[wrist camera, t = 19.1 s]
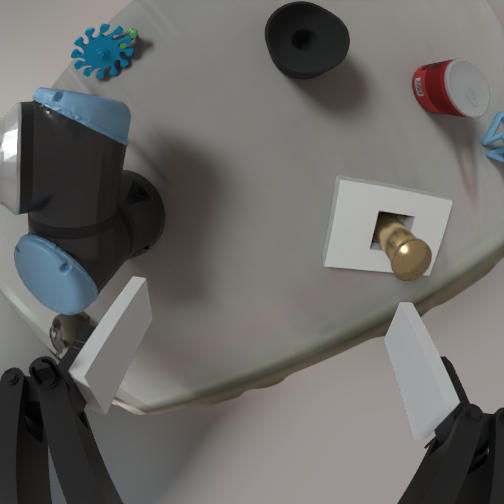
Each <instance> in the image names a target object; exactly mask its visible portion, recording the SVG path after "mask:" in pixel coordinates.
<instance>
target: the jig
mask: <svg viewBox="0 0 504 504" xmlns="http://www.w3.org/2000/svg"><path fill="white" fill-rule="evenodd" d="M452 203H453V201H452V200H450V199H449V198H447V197H446V196H444V195H440V194H436V193H431V192H427V191H422V190H418V189H413V188H408V187H403V186H398V185H393V184H388V183H382V182H377V181H371V180H365V179H359V178H353V177H346V176H339V175H336V181H335V187H334V193H333V200H332V206H331V211H330V217H329V223H328V228H327V234H326V239H325V244H324V249H323V254H322V259H323V263H324V266H326V267H337V268H348V269H358V270H369V271H380V272H391V273H394V272H393V271H392V268H391V261H390V259H389V258H388V256H387V255H386V253H385V252H384V250H383V249H382V247H381V246H380V244H379V243H375V242H371V241H372V237H373V233H374V229H375V225H376V221H377V216H378V212H379V211H384V212H391V213H397V214H403V215H406V219H405V223H404V225H405V226H406V227H407V228H408V229H409V230H410V232H411V233H412V234H413V235H414V236H415V237H416V238H419V239H422V240H423V241H425V242H426V244H427V245H428V246H429V247H430V249H431V252H432V260H431V263H430V266H429V268H428V269H427V271H426V272H425V273H424V274H423V275H425V276H429V275H430V273H431V270H432V267H433V264H434V262H435V259H436V256H437V253H438V250H439V247H440V244H441V241H442V238H443V235H444V231H445V228H446V225H447V221H448V218H449V214H450V210H451V207H452Z"/></svg>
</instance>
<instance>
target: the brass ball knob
mask: <svg viewBox="0 0 504 504" xmlns="http://www.w3.org/2000/svg"><path fill="white" fill-rule="evenodd" d="M373 236H374V237H375V239H376V240H377V242H378V243H379V244H380V246H381V247H382V249H383V250H384V252H385V253H386V255H387V256H388V258H389V259H390V261H391V268H392V271H393V272H394V274H395V275H396V277H397V278H399V279H400V280H403V281H412V280H415V279H417V278H419V277H420V276H422V275H423V274H424V273H425V272H426V271H427V269H428V268H429V266H430V263H431V260H432V252H431V249H430V247H429V246H428V245H427V244H426V242H425V241H423V240H422V239H419V238H416V237H415V236H414V235H413V234H412V233H411V232H410V230H409V229H408V228H407V227H406V226H405V225H404V224H403V223H402V222H401V221H400V220H399V219H398V218H397V217H396V216H395V215H394V214H393V213H391V212H384V211H382V212H379V213H378V216H377V221H376V225H375V229H374V233H373Z"/></svg>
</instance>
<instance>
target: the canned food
mask: <svg viewBox="0 0 504 504" xmlns="http://www.w3.org/2000/svg"><path fill="white" fill-rule="evenodd" d="M412 86H413V91H414V94H415V96H416V98H417V100H418V101H419V103H420V104H421V105H422V106H423V107H425V108H426V109H427V110H429V111H431V112H434V113H440V114H448V115H455V116H462V117H469V118H478V117H481V116H482V115H484V114H485V113H486V111H487V109H488V107H489V103H490V91H489V86H488V83H487V81H486V78H485V76H484V75H483V73H482V72H481V70H480V69H479V68H478V67H477V66H476V65H475V64H473V63H472V62H470V61H468V60H465V59H455V60H448V61H443V62H438V63H433V64H429V65H424V66H421V67H420V68H419V69H418V70H417V71H416V72H415V74H414V76H413V80H412Z"/></svg>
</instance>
